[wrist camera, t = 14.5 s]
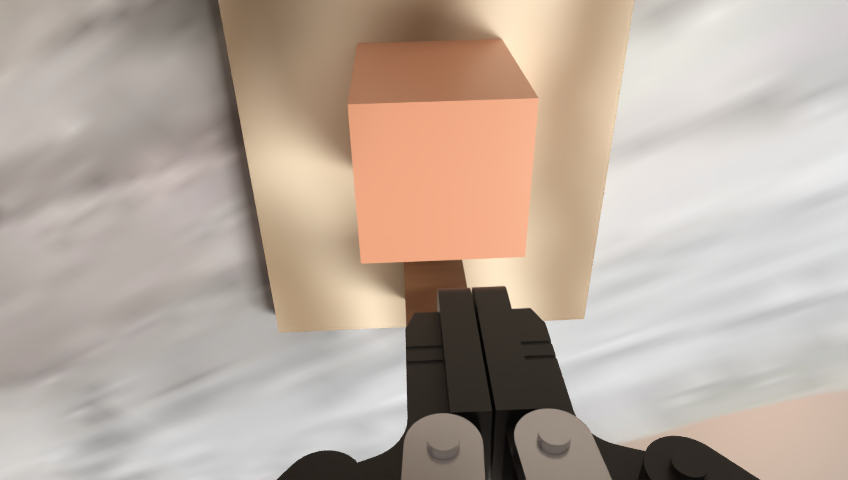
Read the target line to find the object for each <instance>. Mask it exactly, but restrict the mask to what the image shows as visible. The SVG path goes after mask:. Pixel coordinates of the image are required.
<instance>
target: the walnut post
mask: <svg viewBox="0 0 848 480" xmlns="http://www.w3.org/2000/svg"><path fill="white" fill-rule="evenodd" d="M404 282H405V307H406V327H407V326H408V324H409V322H410V320H411V319H412V317H413V315H414V313H424V312H437V289H447V288H467V283H466V278H465V272H464V267H463V262H462V260H440V261H415V262H404Z"/></svg>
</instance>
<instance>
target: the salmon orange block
mask: <svg viewBox="0 0 848 480" xmlns="http://www.w3.org/2000/svg"><path fill="white" fill-rule="evenodd" d="M538 102H539V98H538V96H537V94H536V93H535V91H534V90H533V88H532V86H531V85H530V83H529V82H528V80H527V78H526V77H525V75H524V74H523V72H522V70H521V69H520V67H519V65H518V64H517V62H516V61H515V59H514V57H513V56H512V54H511V53H510V51H509V49H508V48H507V46H506V45H505V43H504V41H503V40H502V39H485V40H450V41H416V42H381V43H357V48H356V54H355V60H354V67H353V73H352V79H351V85H350V91H349V98H348V104H347V105H348V117H349V129H350V141H351V152H352V164H353V176H354V188H355V199H356V211H357V223H358V235H359V247H360V258H361V264H367V263H391V262H415V261H440V260H464V259H488V258H513V257H525V252H526V241H527V229H528V218H529V206H530V194H531V183H532V171H533V160H534V148H535V136H536V125H537V113H538Z"/></svg>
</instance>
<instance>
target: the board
mask: <svg viewBox="0 0 848 480" xmlns="http://www.w3.org/2000/svg"><path fill="white" fill-rule="evenodd" d="M218 3H219V9H220V14H221V19H222V25H223V30H224V36H225V41H226V47H227V52H228V58H229V63H230V68H231V74H232V79H233V85H234V90H235V96H236V101H237V107H238V112H239V117H240V123H241V128H242V134H243V139H244V145H245V150H246V156H247V161H248V166H249V172H250V177H251V183H252V188H253V194H254V199H255V205H256V210H257V215H258V221H259V226H260V232H261V237H262V243H263V248H264V254H265V259H266V265H267V270H268V275H269V281H270V286H271V292H272V297H273V303H274V308H275V314H276V319H277V324H278V330H279V332H301V331H324V330H346V329H369V328H391V327H406V307H405V282H404V262H391V263H367V264H361V258H360V247H359V235H358V223H357V211H356V199H355V188H354V176H353V164H352V152H351V141H350V129H349V117H348V105H347V104H348V98H349V91H350V85H351V79H352V73H353V67H354V60H355V54H356V48H357V43H381V42H416V41H450V40H485V39H502V40H503V41H504V43H505V45H506V46H507V48H508V49H509V51H510V53H511V54H512V56H513V57H514V59H515V61H516V62H517V64H518V65H519V67H520V69H521V70H522V72H523V74H524V75H525V77H526V78H527V80H528V82H529V83H530V85H531V86H532V88H533V90H534V91H535V93H536V94H537V96H538V98H539V102H538V113H537V125H536V136H535V148H534V160H533V171H532V183H531V194H530V206H529V218H528V229H527V241H526V252H525V257H513V258H488V259H464V260H462V262H463V267H464V272H465V278H466V283H467V288H470V289H471V291H472V287H493V286H505V287H506V289H507V292H508V296H509V300H510V304H511V308H512V309H518V308H531V309H532V310H533V311H534V312H535V313H536V314H537V315H538V316H539V317H540V318H541V319H542V320H543V321H549V320H571V319H584V316H585V309H586V303H587V297H588V290H589V284H590V278H591V271H592V265H593V259H594V252H595V246H596V240H597V233H598V227H599V221H600V214H601V208H602V202H603V195H604V189H605V183H606V176H607V170H608V164H609V157H610V151H611V145H612V138H613V132H614V126H615V120H616V113H617V107H618V101H619V94H620V88H621V82H622V75H623V69H624V63H625V56H626V50H627V44H628V37H629V31H630V25H631V18H632V12H633V6H634V0H218Z"/></svg>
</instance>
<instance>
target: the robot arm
mask: <svg viewBox="0 0 848 480" xmlns="http://www.w3.org/2000/svg"><path fill="white" fill-rule="evenodd" d="M406 369H407V411H408V421H407V427H406V430H405V432H404V434H403V436H402V437H401V439H400V440H399V441H398V442H397V443H396V445H395V446H393V447H392V448H391V449H389V450H388V451H386V452H384V453H383V454H380V455H378V456H376V457H373V458H370V459H367V460H364V461H361V462H358V463H357V462H356V461H355V460H354V459H353V458H352V457H350V456H349V455H347V454H345V453H341V452H338V451H318V452H314V453H311V454H309V455H306V456H304V457H302V458H301V459H299V460H298V461H296V462H295V463H294V464H293V465H292V466H291V467H289V468H288V469H287V470H286V471H285V472H284V473H283V474H282V475H281V476H280V477H279V478H278V479H277V480H759V479H758V478H756V477H755V476H753V475H752V474H750V473H749V472H747V471H746V470H744V469H743V468H741V467H739V466H738V465H736V464H735V463H733V462H732V461H730V460H729V459H727V458H725V457H724V456H722V455H720V454H719V453H718V452H716V451H714V450H713V449H711V448H710V447H708V446H707V445H705V444H703V443H701V442H699V441H696V440H694V439H690V438H687V437H681V436H666V437H663V438H659V439H657V440H655V441H654V442H652V443H651V444H650V445H649V446H648V448H647V449H646V451H642V450H637V449H633V448H628V447H624V446H620V445H616V444H612V443H609V442H607V441H604V440H602V439H600V438H598V437H596V436H595V435H593V434H592V433H591V431H590V430H589V428H588V427H587V426H586V424H584V423H583V422H582V421H581V420H580V419H579V418H577V417H576V415H575V413H574V411H573V407H572V404H571V401H570V398H569V395H568V392H567V389H566V386H565V383H564V380H563V377H562V373H561V370H560V367H559V364H558V361H557V359H556V357H555V352H554V349H553V346H552V344H551V340H550V336H549V333H548V330H547V327H546V324H545V322H544V321H543V320H542V319H541V318H540V317H539V316H538V315H537V314H536V313H535V312H534V311H533V310H532V309H531V308H518V309H512V308H511V304H510V300H509V296H508V292H507V289H506V287H505V286H493V287H472V291H471V289H470V288H447V289H437V312H424V313H414V315H413V317H412V319H411V320H410V322H409V324H408V326H407V327H406Z"/></svg>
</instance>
